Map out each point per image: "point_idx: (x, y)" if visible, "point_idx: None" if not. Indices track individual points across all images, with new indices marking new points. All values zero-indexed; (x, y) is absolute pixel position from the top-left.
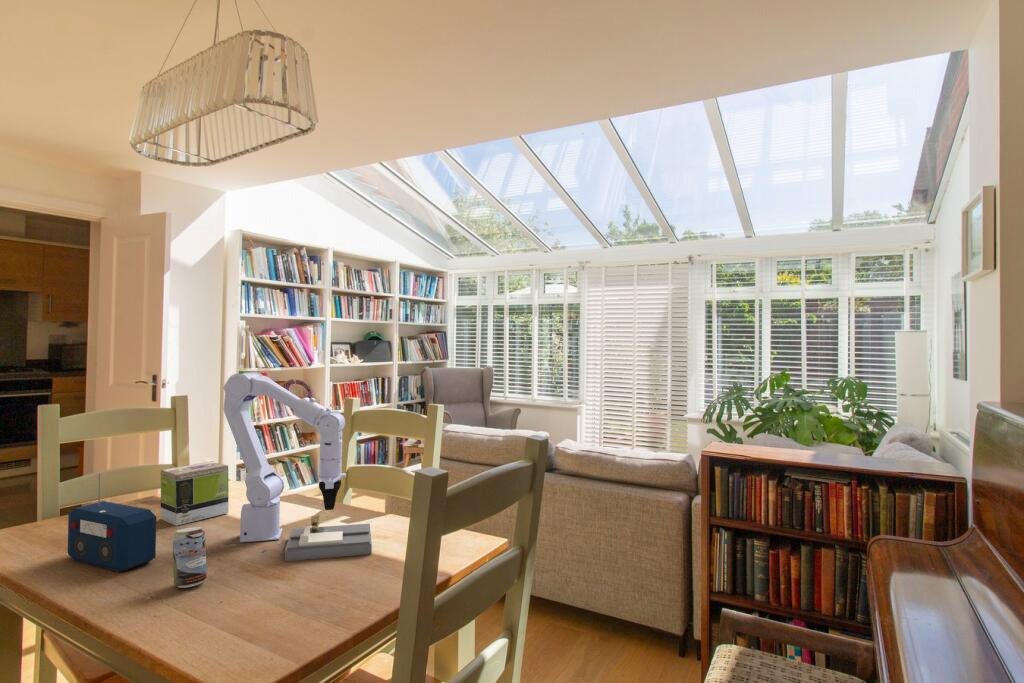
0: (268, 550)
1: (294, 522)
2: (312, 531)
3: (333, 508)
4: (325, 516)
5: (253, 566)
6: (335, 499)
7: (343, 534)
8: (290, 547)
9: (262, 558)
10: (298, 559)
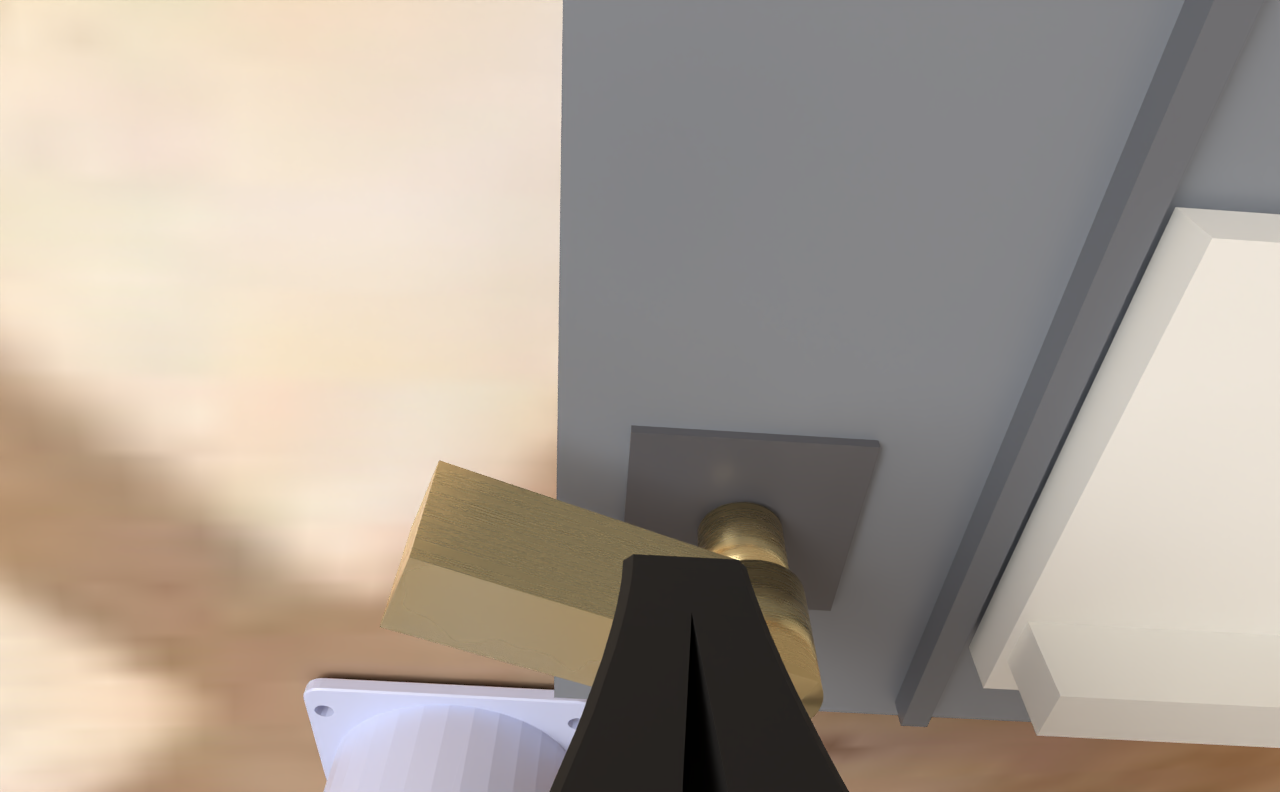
0: (828, 729)
1: (34, 595)
2: None
3: (747, 578)
4: (505, 511)
5: (1129, 780)
6: (836, 772)
7: (1163, 193)
8: None
9: (994, 750)
10: None
